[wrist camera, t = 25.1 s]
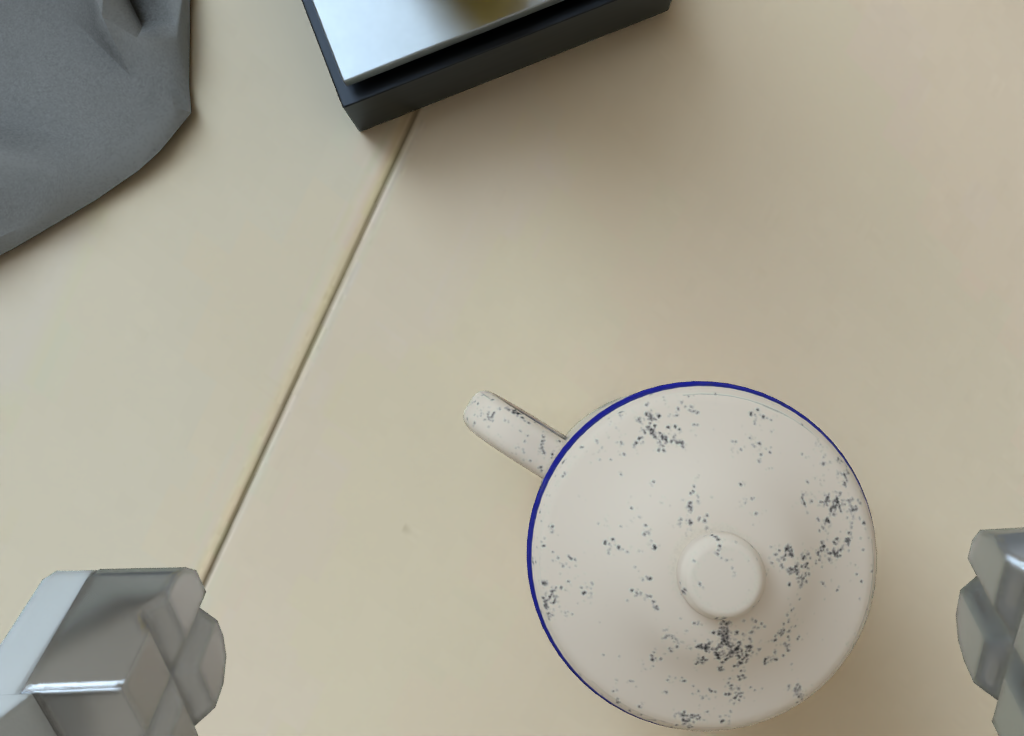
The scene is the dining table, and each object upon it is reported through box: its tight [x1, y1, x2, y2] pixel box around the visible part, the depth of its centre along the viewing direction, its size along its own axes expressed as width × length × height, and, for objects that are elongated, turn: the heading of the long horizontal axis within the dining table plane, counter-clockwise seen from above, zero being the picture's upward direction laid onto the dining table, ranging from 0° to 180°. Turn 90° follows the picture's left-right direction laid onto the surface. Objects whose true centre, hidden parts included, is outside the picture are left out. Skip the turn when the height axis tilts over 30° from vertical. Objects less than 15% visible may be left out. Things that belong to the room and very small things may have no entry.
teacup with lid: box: [463, 381, 877, 731], centre depth 26 cm, size 12×9×12 cm
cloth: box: [0, 0, 191, 255], centre depth 32 cm, size 26×14×2 cm, turn 144°
